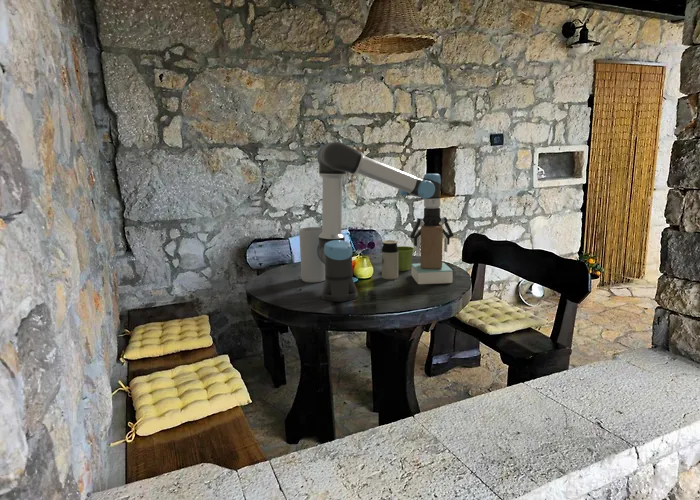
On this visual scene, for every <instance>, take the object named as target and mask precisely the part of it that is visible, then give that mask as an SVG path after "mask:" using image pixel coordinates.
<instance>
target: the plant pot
mask: <svg viewBox="0 0 700 500" xmlns="http://www.w3.org/2000/svg"><path fill="white" fill-rule="evenodd" d="M397 247H398V272H405V271H410V270H411V268H412V261H413V260H412V259H413V254H414V250H416V247H412V246H404V245H403V246H397Z"/></svg>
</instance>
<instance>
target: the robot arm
mask: <svg viewBox="0 0 700 500" xmlns="http://www.w3.org/2000/svg"><path fill="white" fill-rule="evenodd" d="M316 157H317V159H316V160H317V163H318V173H319V176H320V177H321V178H322V194H321V195H322V196H321V197H322V201H321V203H322V204H321V206H322V207H321V208H322V209H321V214H322V217H321V223H322V224H321V227H322V233H321V234H320V235H319V244H318V246H317V255H318V257H319V259H320V261H321V262H322V263H324V264H325V281H323V286H322V289H321V298H322V299H323V300H324V301H327V302H338V303H339V302H340V303H341V302H347V301H348V302H349V301H353V300H355V299H356V298H357V297H358V289H357V287H356V284H355V282H354V279H353V278H354V277H353V248H352V244H351V243H350V242H349V241H346V240H345V237H346V236H345V235H344V234H343V232H342V224H343V223H342V219H343V218H342V215H343V214H342V213H343V210H342V209H343V207H342V206H343V178H344V177H345V176H346V175H347V173H350V174H352V175H355V174H358V175H361V176H363V177H365V178H366V177H367V178H369V179H372V180H375V181H377V182H379V183H382V184H385V185H387V186H389V187H392V188H395V189H398V193H399V195H400V196H403V197H409V196H411V197H412V196H413V197H417V198H421V199H423V207H424V208H423V218H420V217H416V223H415V225H414V227H413V229H412V231H411V233H410V235H409V237H410V238H411V239H413V245H414V247H415V251H416V252H415V253H416V254H420V239H419V237H421V228H419V227H420V226H421V223H422V222H423V224H424V225H425V226H441V225H442V224H441V222H442V223H443V224H444V226H445V228H446V230H445V229H444V228H443V235H444V236H445V237H444V244H443V245H444V246H443V248H444V249H443V251H444V252H445V253H448V245H449V246H450V239H451V238H453V237H454V232H453V231H452V229H451V227H450V224H449V222H448V218H447V217H446V216H443V217H441V208H440V207H441V186H442V183H441V182H442V181H441V180H442V179H441V174H439V173H425V174H424V175H423V178H421V177H418V176H415V175H413V174H411V173H408V172H406V171H402V170H401V169H399V168H395V167H393V166H392V165H388V164H385V163H383V162H380V161H378V160H375V159H373V158H370V157H368V156H366V155H364V154H363V152H362V151H360V150H359V149H355V148H353V147H351V146H349V145H347V144H345V143H344V142H341V141H332V142H327V143H324V144H323V145H322V146H321V147H320V148H319V149H318V152H317V156H316ZM440 224H441V225H440ZM418 229H419V230H418ZM446 231H447V232H446Z"/></svg>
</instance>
